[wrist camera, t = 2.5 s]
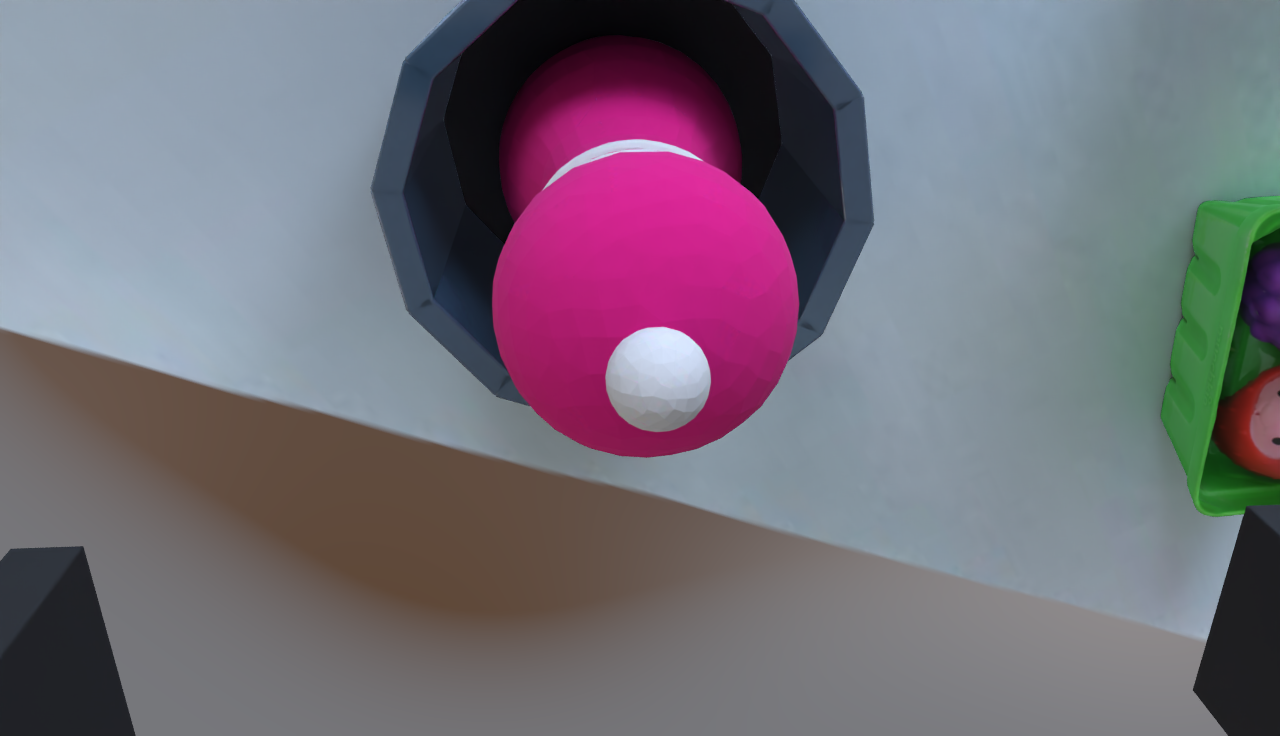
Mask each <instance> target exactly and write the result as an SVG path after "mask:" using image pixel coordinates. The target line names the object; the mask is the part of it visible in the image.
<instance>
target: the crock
mask: <svg viewBox="0 0 1280 736" xmlns="http://www.w3.org/2000/svg"><path fill="white" fill-rule="evenodd" d="M517 1H518V0H462V1H461V2H459V3H458V4H457V5H456V6H455V7H454V8H453V9H452V10H451V11H450V12H449V13H448V14H447V15H446V16H445V17H444V18H443V19H442V20H441V21H440V22H439V23H438V24H437V25H436V26H435V27H434V29H433V30H432V31H431V32H430V33H429V34H428V35H427V36H426V37H425V38H424V39H423V40H422V41H421V42H420V43H419V44H418V45H417V46H416V47H415V48H414V49H413V51H412V52H411V53H410V54H409V55H408V56H407V57H406V58H405V60H404V61H403V64H402V68H401V71H400V75H399V79H398V83H397V87H396V91H395V95H394V99H393V103H392V107H391V111H390V114H389V118H388V122H387V126H386V130H385V134H384V138H383V142H382V146H381V150H380V154H379V157H378V161H377V165H376V169H375V173H374V177H373V181H372V185H371V194H372V198H373V201H374V204H375V208H376V211H377V214H378V217H379V221H380V224H381V227H382V231H383V234H384V237H385V241H386V244H387V247H388V251H389V254H390V257H391V260H392V264H393V267H394V270H395V274H396V277H397V280H398V284H399V287H400V290H401V294H402V297H403V300H404V303H405V307H406V310H407V311H408V312H409V314H410V315H411V316H412V317H413V318H414V319H415V320H416V321H417V322H418V323H419V324H421V325H422V326H423V327H424V328H425V329H426V330H427V331H428V332H429V333H430V334H431V335H432V336H433V337H434V338H435V339H436V340H437V341H438V342H439V343H440V344H441V345H443V346H444V347H445V348H446V349H447V350H448V351H449V352H450V353H451V354H452V355H453V356H454V357H455V358H456V359H457V360H458V361H459V362H460V363H461V364H462V365H463V366H464V367H466V368H467V369H468V370H469V371H470V372H471V373H472V374H473V375H474V376H475V377H476V378H477V379H478V380H479V381H480V382H481V383H482V384H483V385H484V386H485V387H486V388H488V389H489V390H490V391H491V392H492V393H493V394H494V395H496V397H499V398H503V399H506V400H510V401H513V402H517V403H520V404H524V405H527V406H530V405H529V404H528V403H527V401H526V400H525V399H524V398H523V397H522V396H521V394H520V393H519V391H518V390H517V388H516V387H515V385H514V383H513V381H512V379H511V377H510V375H509V373H508V371H507V368H506V366H505V364H504V362H503V360H502V358H501V356H500V352H499V348H498V343H497V339H496V335H495V331H494V327H493V310H492V296H493V280H494V275H495V271H496V267H497V263H498V259H499V257H500V254H501V252H502V249H503V247H504V244H503V243H502V242H501V240H500V239H499V238H498V237H497V236H496V235H495V234H494V233H493V232H492V231H491V230H490V229H489V228H488V227H487V226H486V225H485V224H484V223H483V222H482V221H481V220H480V219H479V218H478V217H477V216H476V215H475V214H474V212H473V211H472V210H471V209H470V208H469V207H468V206H467V205H466V204H465V200H464V196H463V192H462V188H461V185H460V181H459V177H458V173H457V169H456V165H455V162H454V158H453V154H452V150H451V146H450V143H449V139H448V135H447V131H446V127H445V124H444V120H443V119H444V116H445V112H446V108H447V105H448V101H449V97H450V94H451V90H452V87H453V83H454V79H455V76H456V72H457V69H458V65H459V61H460V58H461V54H462V53H463V52H464V51H465V50H466V49H467V48H468V47H469V46H470V45H471V44H473V43H474V42H475V41H476V40H477V39H478V38H479V37H480V36H481V35H482V34H483V33H484V32H485V31H486V30H487V29H489V28H490V27H491V26H492V25H493V24H494V23H495V22H496V21H497V20H498V19H499V18H500V17H501V16H502V15H504V14H505V13H506V12H507V11H508V10H509V9H510V8H511V7H512V6H513V5H514V4H515V3H516V2H517ZM723 1H726V2H728V3H731V4H732V5H733V6H734V7H735V9H736V10H737V11H738V12H739V14H740V15H741V16H742V18H743V19H744V20H745V22H746V23H747V24H748V26H749V27H750V28H751V29H752V31H753V32H754V33H755V35H756V36H757V37H758V39H759V40H760V41H761V43H762V44H763V45H764V47H765V48H766V49H767V50H768V52H769V53H770V54H771V57H772V66H773V74H774V82H775V91H776V99H777V107H778V116H779V124H780V132H781V141H782V144H781V146H780V149H779V151H778V153H777V156H776V158H775V161H774V163H773V166H772V168H771V170H770V173H769V175H768V178H767V180H766V182H765V185H764V187H763V190H762V192H761V194H760V197H759V199H758V200H759V201H760V202H761V203H762V204H763V205H764V206H765V208H766V209H767V211H768V213H769V214H770V216H771V217H772V219H773V221H774V222H775V224H776V225H777V227H778V229H779V230H780V232H781V234H782V235H783V237H784V240H785V242H786V245H787V247H788V249H789V252H790V255H791V258H792V262H793V265H794V269H795V272H796V276H797V287H798V297H799V311H798V322H797V332H796V336H795V340H794V344H793V348H792V351H791V355H790V357H789V359H788V360H790V359H791V358H792V357H794V356H795V355H796V354H798V353H799V352H800V351H802V350H803V349H804V348H806V347H807V346H808V345H809V344H811V343H812V342H813V341H815V340H816V339H817V338H819V337H820V336H821V335H822V334H823V332H824V330H825V328H826V326H827V324H828V321H829V319H830V317H831V315H832V313H833V311H834V309H835V306H836V304H837V302H838V300H839V298H840V296H841V294H842V291H843V289H844V287H845V285H846V283H847V281H848V279H849V276H850V274H851V272H852V270H853V268H854V266H855V264H856V261H857V259H858V257H859V255H860V253H861V251H862V248H863V246H864V244H865V242H866V240H867V238H868V236H869V233H870V231H871V229H872V227H873V225H874V223H873V222H874V214H873V202H872V190H871V178H870V166H869V154H868V142H867V130H866V117H865V105H864V97H863V95H862V92H861V90H860V89H859V88H858V86H857V85H856V84H855V82H854V81H853V80H852V78H851V77H850V75H849V74H848V73H847V71H846V70H845V69H844V67H843V66H842V65H841V63H840V62H839V61H838V59H837V58H836V56H835V55H834V54H833V52H832V51H831V50H830V48H829V47H828V46H827V44H826V43H825V41H824V40H823V39H822V37H821V36H820V35H819V33H818V32H817V31H816V29H815V28H814V26H813V25H812V24H811V22H810V21H809V20H808V18H807V17H806V16H805V14H804V13H803V12H802V10H801V9H800V7H799V6H798V5H797V3H796V2H795V1H794V0H723Z"/></svg>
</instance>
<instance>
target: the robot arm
mask: <svg viewBox="0 0 1280 736" xmlns="http://www.w3.org/2000/svg"><path fill="white" fill-rule="evenodd" d="M1193 691H1194V692H1195V693H1196V695H1197V696H1198V697H1199V699H1200V700H1201V701H1202V702H1203V704H1204V705H1205V706H1206V708H1207V709H1208V710H1209V711H1210V713H1211V714H1212V715H1213V716H1214V718H1215V719H1216V720H1217V722H1218V723H1219V724H1220V726H1221V727H1222V728H1223V729H1224V731H1225V732H1226V733H1227V735H1228V736H1280V505H1253V506H1246V509H1245V513H1244V516H1243V519H1242V523H1241V526H1240V530H1239V533H1238V537H1237V540H1236V543H1235V547H1234V550H1233V554H1232V557H1231V561H1230V564H1229V567H1228V571H1227V574H1226V578H1225V581H1224V585H1223V588H1222V591H1221V595H1220V598H1219V602H1218V605H1217V609H1216V612H1215V615H1214V619H1213V622H1212V626H1211V629H1210V633H1209V636H1208V640H1207V643H1206V646H1205V650H1204V654H1203V657H1202V660H1201V664H1200V667H1199V671H1198V674H1197V677H1196V681H1195V684H1194V688H1193ZM0 736H135V732H134V728H133V725H132V721H131V718H130V714H129V711H128V707H127V703H126V700H125V696H124V692H123V689H122V685H121V681H120V678H119V674H118V671H117V667H116V664H115V660H114V656H113V652H112V649H111V645H110V642H109V638H108V634H107V631H106V627H105V623H104V620H103V617H102V613H101V609H100V605H99V602H98V598H97V594H96V591H95V587H94V584H93V580H92V576H91V573H90V569H89V565H88V562H87V558H86V555H85V551H84V548H83V546H80V547H51V548H24V549H10V551H9V552H8V553H7V554H6V555H5V556H4V557H3V559H2V560H1V561H0Z"/></svg>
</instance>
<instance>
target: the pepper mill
mask: <svg viewBox="0 0 1280 736" xmlns="http://www.w3.org/2000/svg"><path fill="white" fill-rule="evenodd" d="M499 169H500V178H501V186H502V190H503V194H504V198H505V201H506V205H507V208H508V210H509V213H510V215H511V217H512V219H513V221H514V223H515V224H514V226H513V228H512V230H511V232H510V234H509V236H508V238H507V240H506V242H505V245H504V247H503V249H502V252H501V254H500V257H499V259H498V263H497V267H496V271H495V275H494V280H493V296H492V310H493V327H494V331H495V335H496V339H497V343H498V348H499V352H500V356H501V358H502V360H503V362H504V364H505V366H506V368H507V371H508V373H509V375H510V377H511V379H512V381H513V383H514V385H515V387H516V388H517V390H518V391H519V393H520V394H521V396H522V397H523V398H524V399H525V400H526V401H527V403H528V404H529V405H530V406H531V407H532V408H533V409H534V411H535V412H536V413H537V414H538V415H539V416H540V417H541V418H543V419H544V420H545V421H546V422H547V423H548V424H549V425H551V426H552V427H553V428H554V429H555V430H557V431H558V432H560V433H562V434H564V435H565V436H567V437H569V438H571V439H572V440H574V441H576V442H578V443H579V444H582V445H584V446H587V447H589V448H592V449H595V450H599V451H603V452H607V453H611V454H615V455H619V456H629V457H646V458H647V457H656V456H665V455H673V454H677V453H681V452H686V451H690V450H694V449H697V448H700V447H702V446H704V445H706V444H709V443H711V442H713V441H715V440H718V439H720V438H722V437H723V436H725V435H726V434H728V433H729V432H730V431H732V430H733V429H735V428H736V427H737V426H739V425H740V424H742V423H743V422H744V421H745V420H746V419H748V418H749V417H750V416H751V415H752V414H753V413H754V412H755V411H757V410H758V409H759V408H760V407H761V406H762V405H763V403H764V402H765V400H766V399H767V398H768V396H769V395H770V393H771V392H772V390H773V389H774V388H775V386H776V385H777V383H778V381H779V379H780V377H781V375H782V373H783V370H784V368H785V366H786V364H787V361H788V359H789V357H790V355H791V351H792V348H793V344H794V340H795V336H796V332H797V322H798V311H799V297H798V287H797V276H796V272H795V269H794V265H793V262H792V258H791V255H790V252H789V249H788V247H787V245H786V242H785V240H784V237H783V235H782V234H781V232H780V230H779V229H778V227H777V225H776V224H775V222H774V221H773V219H772V217H771V216H770V214H769V213H768V211H767V209H766V208H765V206H764V205H763V204H762V203H761V202H760V201H759V200H758V199H757V198H756V197H755V196H754V195H753V194H752V193H751V192H750V191H749V190H747V189H746V188H745V187H743V186H742V185H741V178H742V151H741V145H740V140H739V134H738V129H737V125H736V121H735V119H734V116H733V114H732V111H731V108H730V106H729V103H728V102H727V100H726V98H725V97H724V95H723V93H722V92H721V90H720V88H719V87H718V85H717V83H716V82H715V81H714V80H713V79H712V78H711V77H710V76H709V75H708V74H707V73H706V71H705V70H704V69H703V68H702V67H701V66H700V65H698V64H697V63H696V62H694V61H693V60H692V59H690V58H689V57H687V56H686V55H685V54H683V53H682V52H680V51H678V50H676V49H674V48H671V47H669V46H667V45H665V44H663V43H660V42H657V41H653V40H649V39H645V38H641V37H631V36H624V35H606V36H599V37H594V38H590V39H586V40H583V41H581V42H579V43H576V44H574V45H572V46H570V47H568V48H566V49H564V50H562V51H560V52H559V53H557V54H555V55H554V56H552V57H551V58H549V59H548V60H547V61H545V62H544V63H543V64H542V65H541V66H540V67H539V68H537V69H536V70H535V71H534V72H533V73H532V74H531V75H530V76H529V77H528V79H527V80H526V81H525V83H524V84H523V85H522V87H521V88H520V89H519V90H518V92H517V94H516V96H515V98H514V99H513V101H512V103H511V105H510V107H509V109H508V112H507V115H506V117H505V120H504V123H503V127H502V132H501V137H500V143H499Z"/></svg>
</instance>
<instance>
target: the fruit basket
mask: <svg viewBox="0 0 1280 736" xmlns="http://www.w3.org/2000/svg"><path fill="white" fill-rule="evenodd" d="M1192 243H1193V250H1194V253H1195V256H1194V257H1193V258H1192V260H1191V262H1190V264H1189V266H1188V268H1187V272H1186V278H1185V284H1184V289H1183V295H1182V300H1181V307H1182V315H1183V316H1184V318H1183V319H1181V321H1180V323H1179V325H1178V327H1177V329H1176V333H1175V339H1174V344H1173V349H1172V355H1171V362H1170V366H1171V373H1172V376H1173V377H1172V378H1171V379H1170V381H1169V383H1168V385H1167V386H1166V390H1165V395H1164V400H1163V405H1162V410H1161V420H1162V422H1163V424H1164V426H1165V429H1166V431H1167V433H1168V435H1169V437H1170V439H1171V442H1172V444H1173V446H1174V448H1175V451H1176V453H1177V455H1178V457H1179V460H1180V462H1181V464H1182V466H1183V468H1184V471H1185V473H1186V475H1187V486H1188V489H1189V492H1190V494H1191V497H1192V500H1193V503H1194V505H1195V507H1196V509H1197V510H1198V511H1199V512H1200V513H1202V514H1204V515H1208V516H1212V517H1221V516H1232V515H1241V514H1244V513H1245V509H1246V506H1253V505H1280V196H1267V197H1254V198H1244V199H1242V200H1239V201H1237V202H1228V201H1217V200H1214V201H1206V202H1203V203H1202V204H1201V205H1200V206H1199V207H1198V210H1197V216H1196V221H1195V227H1194V233H1193V239H1192Z"/></svg>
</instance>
